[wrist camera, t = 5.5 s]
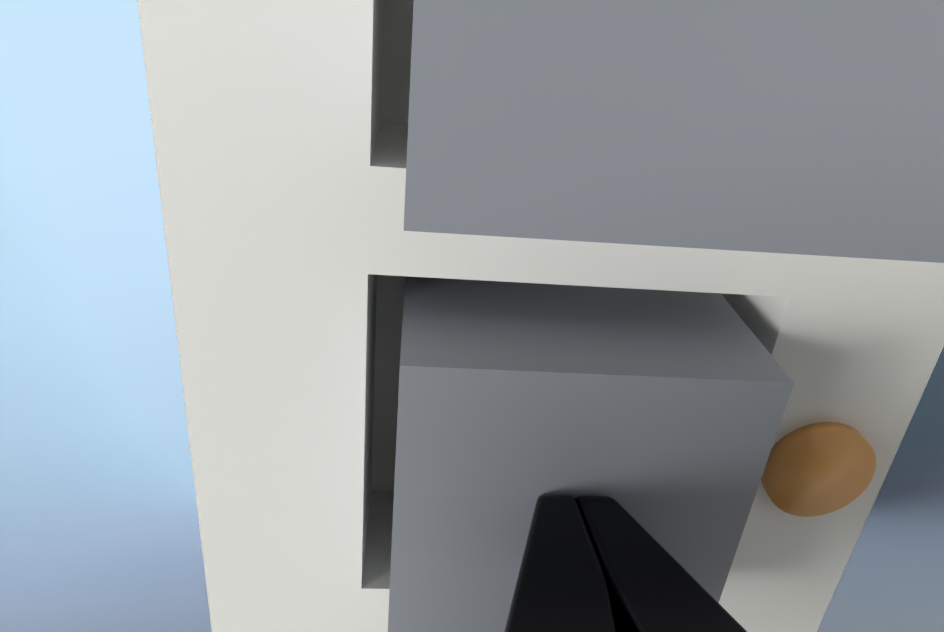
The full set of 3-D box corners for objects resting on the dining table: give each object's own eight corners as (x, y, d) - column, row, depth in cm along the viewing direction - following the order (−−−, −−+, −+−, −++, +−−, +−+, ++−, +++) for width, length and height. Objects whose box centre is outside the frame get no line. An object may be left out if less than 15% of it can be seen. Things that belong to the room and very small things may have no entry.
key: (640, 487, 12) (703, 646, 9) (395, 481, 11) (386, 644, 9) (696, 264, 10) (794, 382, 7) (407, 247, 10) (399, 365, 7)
